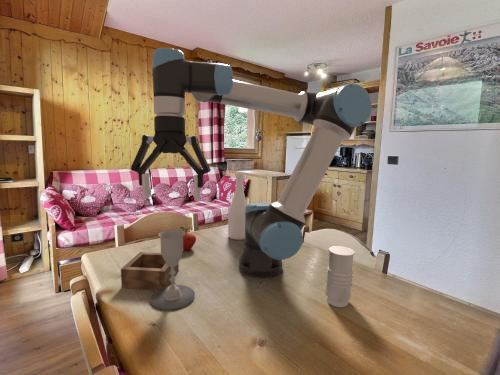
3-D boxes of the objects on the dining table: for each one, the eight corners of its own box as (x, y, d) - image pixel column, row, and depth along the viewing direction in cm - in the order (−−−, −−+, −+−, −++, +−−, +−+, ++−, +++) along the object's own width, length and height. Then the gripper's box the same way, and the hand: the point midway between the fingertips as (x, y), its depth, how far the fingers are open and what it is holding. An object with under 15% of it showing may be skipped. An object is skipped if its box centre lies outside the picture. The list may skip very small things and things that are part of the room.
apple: (187, 245, 120) (187, 222, 118) (199, 249, 116) (199, 225, 114) (173, 250, 113) (172, 226, 112) (184, 254, 110) (184, 229, 108)
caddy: (178, 270, 96) (178, 253, 95) (165, 290, 83) (164, 271, 82) (140, 268, 97) (140, 251, 96) (121, 288, 84) (120, 269, 83)
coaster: (199, 287, 85) (199, 286, 85) (188, 311, 74) (188, 309, 73) (159, 285, 86) (159, 283, 86) (142, 308, 74) (142, 306, 74)
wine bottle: (225, 239, 128) (226, 172, 123) (230, 232, 137) (231, 170, 132) (246, 241, 126) (248, 173, 121) (250, 234, 135) (252, 171, 130)
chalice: (178, 304, 75) (177, 239, 73) (154, 301, 77) (153, 236, 74) (189, 290, 83) (189, 230, 80) (167, 287, 84) (166, 228, 81)
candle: (319, 297, 82) (323, 247, 80) (338, 292, 85) (342, 244, 82) (335, 310, 76) (339, 256, 73) (355, 305, 79) (360, 253, 76)
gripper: (221, 118, 75) (220, 197, 78) (128, 116, 76) (132, 194, 80) (216, 115, 67) (216, 203, 71) (113, 113, 69) (118, 200, 72)
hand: (171, 198), depth 75 cm, fingers open, 13 cm apart
